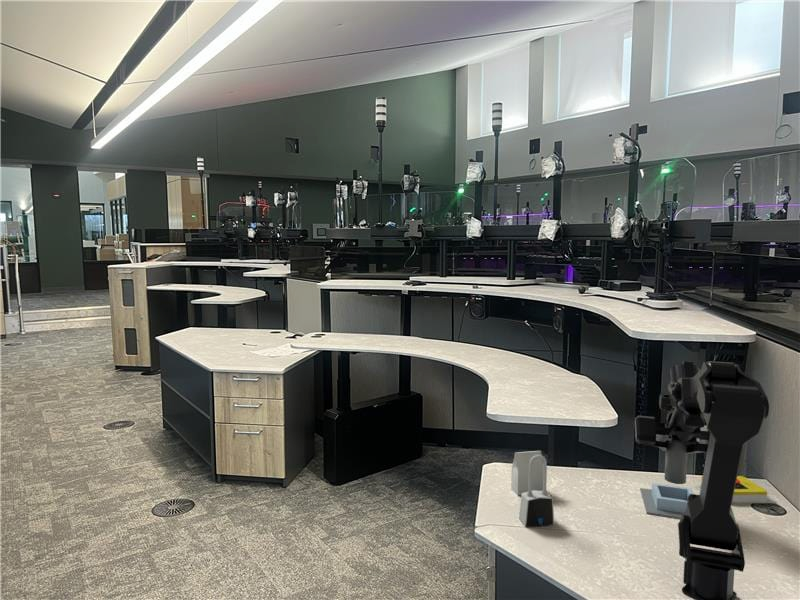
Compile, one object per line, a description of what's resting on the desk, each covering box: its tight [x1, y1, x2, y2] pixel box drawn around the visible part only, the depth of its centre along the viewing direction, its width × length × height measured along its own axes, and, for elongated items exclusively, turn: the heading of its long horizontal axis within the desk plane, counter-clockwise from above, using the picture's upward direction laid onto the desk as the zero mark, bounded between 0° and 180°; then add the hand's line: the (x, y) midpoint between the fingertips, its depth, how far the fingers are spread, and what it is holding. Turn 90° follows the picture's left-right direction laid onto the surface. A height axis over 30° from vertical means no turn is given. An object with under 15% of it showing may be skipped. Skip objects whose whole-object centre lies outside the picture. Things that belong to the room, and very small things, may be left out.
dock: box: [639, 482, 695, 520], centre depth 121 cm, size 13×13×3 cm
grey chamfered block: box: [511, 450, 543, 496], centre depth 127 cm, size 4×7×10 cm, turn 102°
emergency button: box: [694, 475, 777, 504], centre depth 127 cm, size 9×4×15 cm
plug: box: [664, 435, 688, 485], centre depth 120 cm, size 4×4×12 cm
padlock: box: [518, 454, 555, 528], centre depth 112 cm, size 7×4×15 cm, turn 100°
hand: (675, 450), depth 121 cm, fingers closed on plug, 4 cm apart
